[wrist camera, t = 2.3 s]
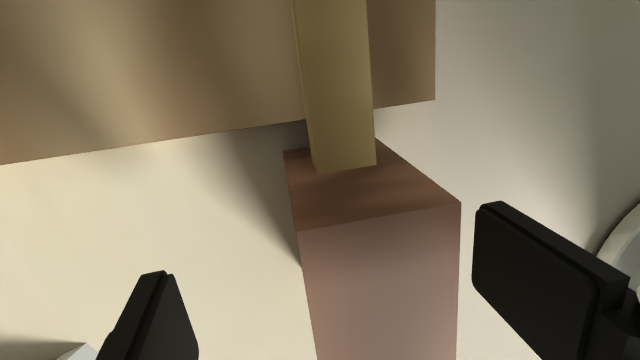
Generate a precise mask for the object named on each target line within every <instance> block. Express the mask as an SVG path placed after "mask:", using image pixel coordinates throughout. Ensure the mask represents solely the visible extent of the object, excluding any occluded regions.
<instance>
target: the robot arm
mask: <svg viewBox="0 0 640 360" xmlns="http://www.w3.org/2000/svg"><path fill="white" fill-rule="evenodd" d="M472 283H473V286H474V288H475V289H476V290H477V291H478V292H479V293H480V295H481V296H482V297H483V298H484V299H485V300H486V301H487V302H488V303H489V304H490V305H491V306H492V307H493V308H494V309H495V310H496V311H497V313H498V314H499V315H500V316H501V317H502V318H503V319H504V320H505V321H506V322H507V323H508V324H509V325H510V326H511V327H512V328H513V329H514V331H515V332H516V333H517V334H518V335H519V336H520V337H521V338H522V339H523V340H524V341H525V342H526V343H527V344H528V345H529V346H530V347H531V349H532V350H533V351H534V352H535V353H536V354H537V355H538V356H539V357H540V358H541V359H542V360H640V203H639V204H638V205H637V206H636V207H635V208H634V209H633V210H632V211H630V212H629V213H628V214H627V215H626V216H625V217H624V218H623V219H622V221H621V222H620V223H619V224H618V225H617V227H616V228H615V229H614V230H613V231H612V233H611V234H610V235H609V236H608V238H607V240H606V241H605V243H604V244H603V246H602V247H601V249H600V251H599V252H598V254H597V256H594V255H593V254H591V253H589V252H587V251H586V250H584V249H582V248H581V247H579V246H577V245H576V244H574V243H572V242H571V241H569V240H567V239H566V238H564V237H562V236H560V235H559V234H557V233H555V232H554V231H552V230H550V229H549V228H547V227H545V226H544V225H542V224H540V223H539V222H537V221H535V220H533V219H532V218H530V217H528V216H527V215H525V214H523V213H522V212H520V211H518V210H517V209H515V208H513V207H511V206H510V205H508V204H506V203H505V202H503V201H495V202H491V203H486V204H482V205H481V206H480V208H479V210H477V212H476V215H475V231H474V246H473V262H472ZM198 357H199V348H198V343H197V340H196V337H195V334H194V331H193V329H192V326H191V323H190V320H189V317H188V314H187V311H186V309H185V306H184V303H183V300H182V297H181V294H180V291H179V289H178V286H177V283H176V280H175V277H174V275H173V274H168V275H167V273H166V272H165V271H164V270H162V271H157V272H152V273H147V274H143V275H141V276H140V278H139V280H138V282H137V284H136V286H135V288H134V290H133V292H132V294H131V296H130V298H129V300H128V302H127V304H126V306H125V308H124V310H123V312H122V314H121V316H120V318H119V320H118V322H117V324H116V326H115V328H114V330H113V331H112V332H110V333H109V335H108V336H107V338H106V339H105V341H104V343H103V345H102V347H101V349H100V351H99V353H98V355H97V357H96V359H95V360H198Z"/></svg>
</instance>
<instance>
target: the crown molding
mask: <svg viewBox="0 0 640 360" xmlns="http://www.w3.org/2000/svg"><path fill="white" fill-rule="evenodd" d="M97 355H98V353H97V352H96V351H95V350H94V349H93V348H92V347H91V346H90V345H89V344H88V343H85V344H83V345H81V346H79V347H77V348H75V349H73V350H71V351H68V352H66V353H64V354H62V355H61V356H60V357H58V358H57V359H56V360H95V359H96V357H97Z"/></svg>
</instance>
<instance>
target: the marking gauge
mask: <svg viewBox="0 0 640 360" xmlns="http://www.w3.org/2000/svg"><path fill="white" fill-rule="evenodd" d="M290 5H291V12H292V20H293V27H294V34H295V41H296V49H297V56H298V63H299V70H300V78H301V85H302V92H303V99H304V107H305V114H306V121H307V128H308V136H309V143H310V147H309V148H302V149H296V150H290V151H283V155H284V161H285V167H286V173H287V180H288V186H289V192H290V199H291V205H292V211H293V218H294V224H295V230H296V236H297V242H298V248H299V254H300V260H301V266H302V272H303V278H304V283H305V289H306V295H307V301H308V307H309V313H310V319H311V324H312V330H313V336H314V342H315V348H316V354H317V360H456V341H457V312H458V283H459V254H460V225H461V202H460V201H459V200H458V199H456V198H455V197H454V196H452V195H451V194H450V193H448V192H447V191H446V190H444V189H443V188H442V187H440V186H439V185H438V184H436V183H435V182H434V181H432V180H431V179H430V178H428V177H427V176H426V175H424V174H423V173H422V172H420V171H419V170H418V169H416V168H415V167H414V166H412V165H411V164H410V163H408V162H407V161H406V160H404V159H403V158H402V157H400V156H399V155H398V154H396V153H395V152H394V151H392V150H391V149H390V148H388V147H387V146H386V145H384V144H383V143H382V142H380V141H379V140H378V139H376V138H375V133H374V117H373V102H372V86H371V71H370V55H369V40H368V24H367V9H366V0H290Z"/></svg>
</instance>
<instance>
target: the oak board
mask: <svg viewBox="0 0 640 360" xmlns="http://www.w3.org/2000/svg"><path fill="white" fill-rule="evenodd" d="M366 9H367V24H368V40H369V55H370V71H371V86H372V102H373V109H377V108H384V107H390V106H397V105H403V104H410V103H417V102H423V101H430V100H435V0H366ZM304 119H306V114H305V107H304V99H303V92H302V85H301V78H300V70H299V63H298V56H297V49H296V41H295V34H294V27H293V20H292V12H291V5H290V0H0V165H5V164H12V163H18V162H25V161H31V160H38V159H45V158H51V157H58V156H65V155H71V154H78V153H85V152H91V151H98V150H105V149H111V148H118V147H124V146H131V145H138V144H144V143H151V142H158V141H164V140H171V139H178V138H184V137H191V136H198V135H204V134H211V133H217V132H224V131H231V130H237V129H244V128H251V127H257V126H264V125H271V124H277V123H284V122H291V121H297V120H304Z"/></svg>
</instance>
